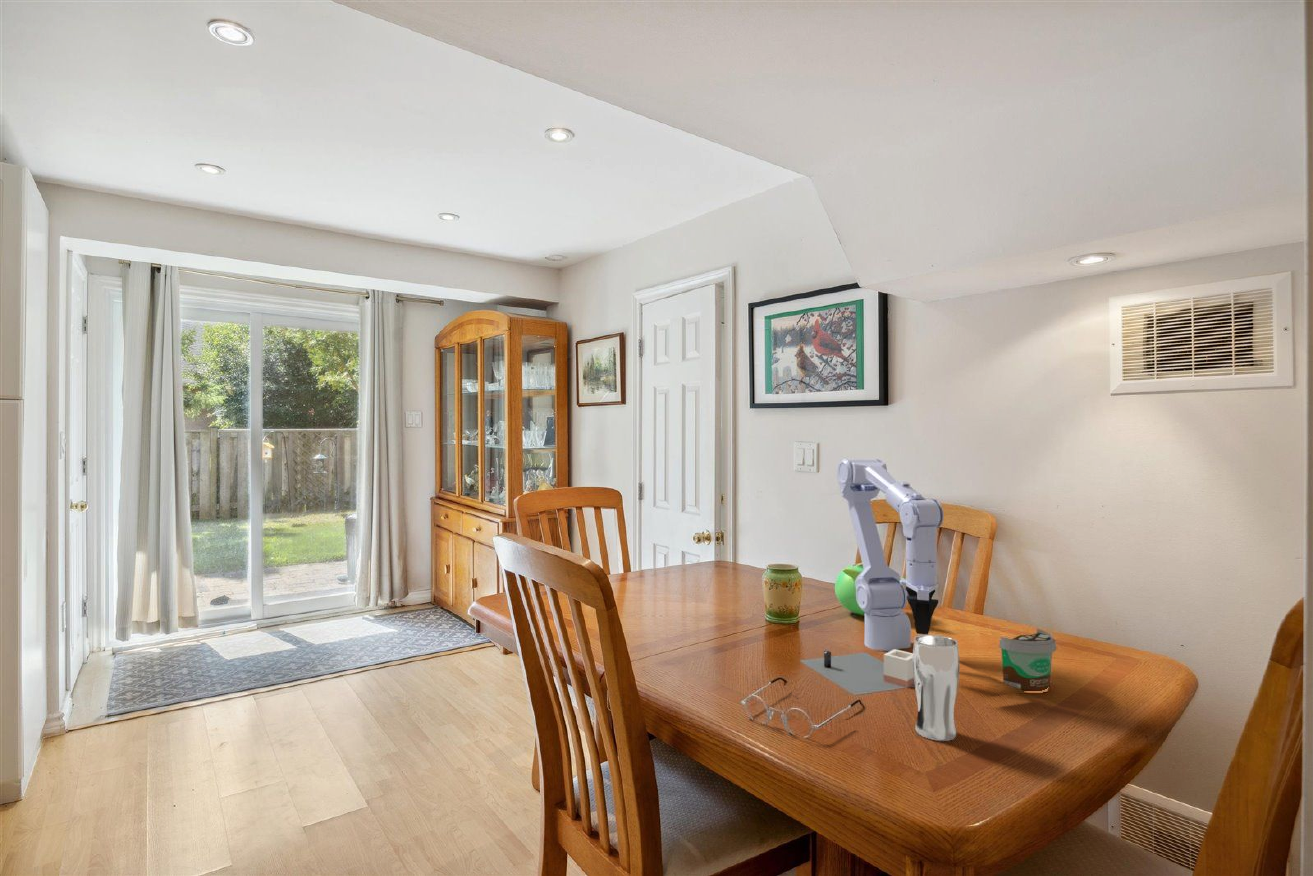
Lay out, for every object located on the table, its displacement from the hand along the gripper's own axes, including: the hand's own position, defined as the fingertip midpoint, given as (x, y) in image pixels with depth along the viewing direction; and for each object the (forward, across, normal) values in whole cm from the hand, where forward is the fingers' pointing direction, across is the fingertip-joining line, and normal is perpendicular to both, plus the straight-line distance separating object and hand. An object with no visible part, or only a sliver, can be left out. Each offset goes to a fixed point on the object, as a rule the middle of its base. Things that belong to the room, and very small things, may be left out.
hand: (921, 628), depth 129 cm
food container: (+10, 0, +20) cm, 22 cm away
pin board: (+10, +6, -11) cm, 16 cm away
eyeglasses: (+10, +25, -20) cm, 34 cm away
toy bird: (+10, -44, -11) cm, 46 cm away
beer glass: (+10, +26, +1) cm, 28 cm away
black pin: (+8, +5, -18) cm, 20 cm away
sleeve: (+8, +8, -4) cm, 12 cm away
